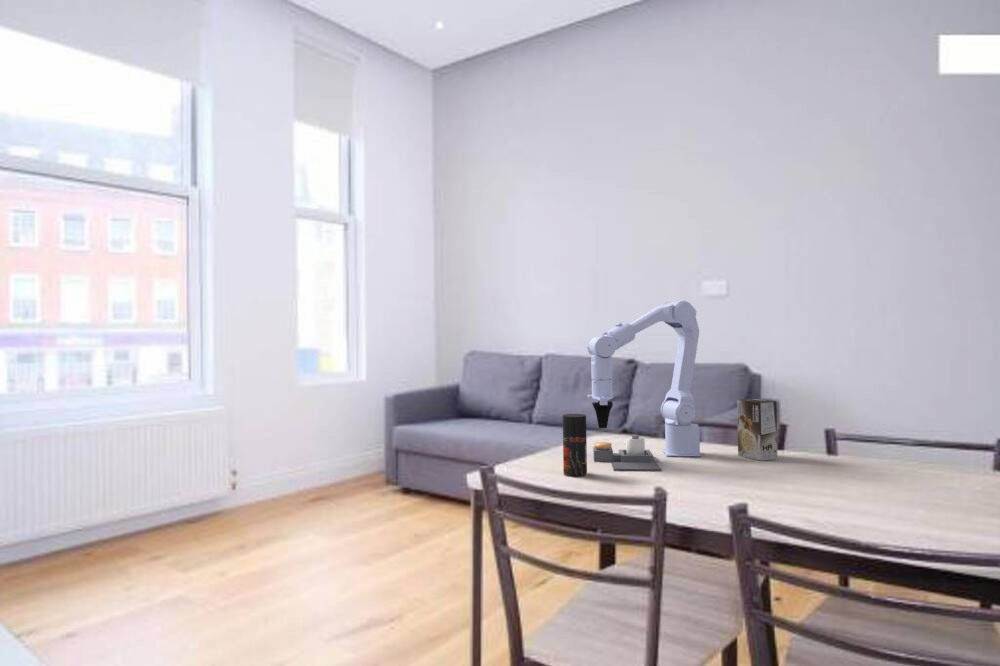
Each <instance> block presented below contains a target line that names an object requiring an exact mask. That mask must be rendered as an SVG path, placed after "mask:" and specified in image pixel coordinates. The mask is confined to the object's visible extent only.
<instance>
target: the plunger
mask: <svg viewBox="0 0 1000 666" xmlns="http://www.w3.org/2000/svg"><path fill="white" fill-rule="evenodd" d="M593 444H594V445H593V447H594V448H598V449H599V450H607V449H609V448H612V446H613V445H612V443H611V442H608V441H597V442H594V443H593ZM612 449H613V448H612Z"/></svg>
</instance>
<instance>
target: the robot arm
mask: <svg viewBox="0 0 1000 666" xmlns="http://www.w3.org/2000/svg"><path fill="white" fill-rule="evenodd" d="M697 312H698V311H697V310H696V308H695V307H694V306H693V305H692V303H691V302H689V301H687V300H681V301H673V302H672V301H667V302H664V303H663V304H660V305H657V306H656V307H653V308H652V309H651V310H649V311H648V312H646V313H645V314H643V315H642V316H640V317H638V318H637V319H634V321H632V322H631V323H627V322H617V323H615V327H613V328H611V329H610V330H608V331H602V333H601V336H594V337H593V338H591V340H590V342H589V343H588V346H587V348H586V349H587V352H588V353H589V355H590V358H591V360H590V361H591V363H590V364H591V365H590V366H591V367H590V368H591V370H590V371H591V394H587V398H588V399H593V400H596V401H597V400H598V401H597V402H596V401H595V402H591V404H592V407H593V408H594V411H595V416H596V419H597V425H598V428H599V429H607V428H608V424H609V416H610V413H611V409H612V408H613V405H614V403H613V402H612V401H609V400H611V399H614V394H613V363H612V362H613V361H612V360H613V357H612V356H614V354H615V353H616V351H618V350H619V349H620V348H623V347H624V346H626V345H628V344H629V343H631V342H632V341H635V338H636V335H637V334H638V333H640V332H641V331H643V330H646V329H648V328H650V327H651V326H653V325H655V324H657V323H659V322H663V323H665V324H666V325H668V326H669V327H671V328H672V329H674V331H675V332H676V334H677V335H678V340H677V347H676V352H675V353H676V355H675V360H674V361H675V362H674V366H673V374H672V379H671V386H670V389H669V390H668V391H667V393H666V394H665V398H664V401H663V402H662V404H661V405H660V413H661V415H662V417H663V418H664V422H665V424H664V429H665V430H664V431H665V436H664V437H665V442H664V443H665V448H664V449H662V452H663V454H664V455H665V456H666V457H701V445H700V444H701V443H700V442H701V441H700V440H701V439H700V437H701V435H700V426H699V424H698V423H693V421H694V420H695V417H696V409H695V398H694V395H693V394H692V392H691V389H692V382H693V375H694V370H695V363H696V356H697V355H696V354H697V350H698V343H699V339H700V338H699V336H700V329H699V325H698V324H699V323H698V321H697V317H696V316H697Z"/></svg>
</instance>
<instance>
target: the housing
mask: <svg viewBox="0 0 1000 666" xmlns="http://www.w3.org/2000/svg"><path fill="white" fill-rule="evenodd" d="M592 452H593V453H592V457H593V462H603V463H604V462H607V463H608V462H611V463H612V462H616V461H617V462H619V461H620V462H645V463H654V455H653V453H652V452H651V450H650V449H645V455H626V449H618V452H617V453H616V452H615V453H614V451H613V448H609V449H607V450H599V449H598V448H594V446H593V447H592Z"/></svg>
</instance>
